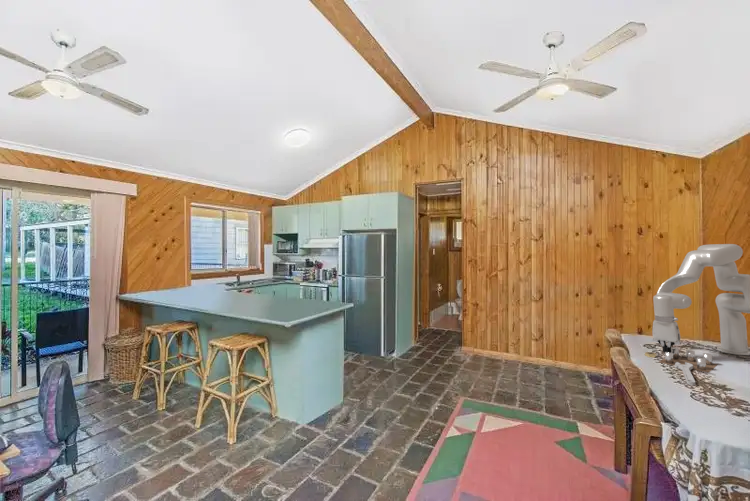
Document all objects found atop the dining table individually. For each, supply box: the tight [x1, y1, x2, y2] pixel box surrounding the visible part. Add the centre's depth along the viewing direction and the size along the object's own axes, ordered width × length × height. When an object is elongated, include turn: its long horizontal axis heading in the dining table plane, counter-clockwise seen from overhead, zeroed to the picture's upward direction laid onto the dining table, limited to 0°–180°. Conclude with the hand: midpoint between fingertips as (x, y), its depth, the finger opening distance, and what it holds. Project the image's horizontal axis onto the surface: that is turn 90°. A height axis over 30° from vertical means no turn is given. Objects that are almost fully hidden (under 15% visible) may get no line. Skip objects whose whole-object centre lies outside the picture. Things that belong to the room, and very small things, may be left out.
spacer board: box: [658, 356, 719, 373], centre depth 157 cm, size 16×18×1 cm
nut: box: [644, 351, 657, 359], centre depth 169 cm, size 4×5×2 cm
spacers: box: [664, 346, 713, 371], centre depth 157 cm, size 13×15×5 cm
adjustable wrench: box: [674, 362, 696, 386], centre depth 145 cm, size 25×6×2 cm, turn 137°
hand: (667, 353), depth 164 cm, fingers closed
